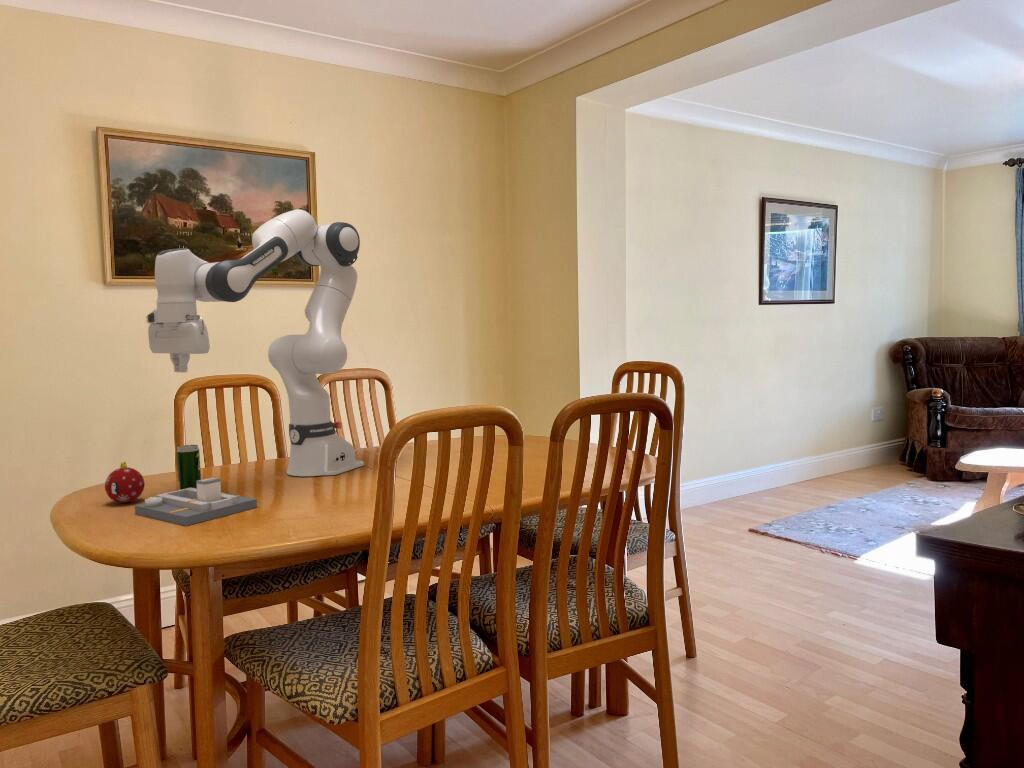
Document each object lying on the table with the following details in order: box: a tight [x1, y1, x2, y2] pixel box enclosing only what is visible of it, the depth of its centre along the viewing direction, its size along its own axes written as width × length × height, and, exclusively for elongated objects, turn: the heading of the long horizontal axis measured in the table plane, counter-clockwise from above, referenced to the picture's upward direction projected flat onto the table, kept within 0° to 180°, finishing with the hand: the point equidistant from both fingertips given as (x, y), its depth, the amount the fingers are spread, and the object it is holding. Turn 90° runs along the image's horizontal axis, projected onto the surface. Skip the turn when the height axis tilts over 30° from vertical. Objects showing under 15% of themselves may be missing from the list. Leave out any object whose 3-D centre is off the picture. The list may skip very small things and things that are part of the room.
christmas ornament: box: [104, 461, 145, 504], centre depth 185 cm, size 9×9×10 cm
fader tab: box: [196, 476, 222, 503], centre depth 172 cm, size 4×3×6 cm
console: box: [134, 488, 258, 527], centre depth 175 cm, size 18×20×4 cm
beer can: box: [176, 444, 202, 490], centre depth 193 cm, size 5×5×12 cm
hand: (180, 372), depth 186 cm, fingers closed
